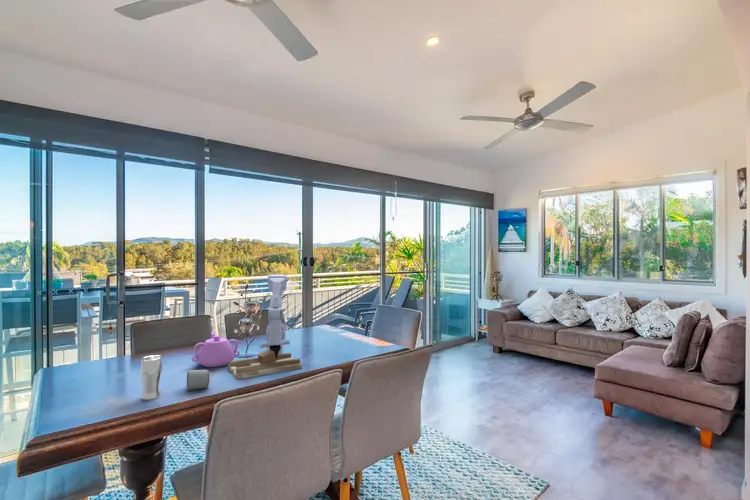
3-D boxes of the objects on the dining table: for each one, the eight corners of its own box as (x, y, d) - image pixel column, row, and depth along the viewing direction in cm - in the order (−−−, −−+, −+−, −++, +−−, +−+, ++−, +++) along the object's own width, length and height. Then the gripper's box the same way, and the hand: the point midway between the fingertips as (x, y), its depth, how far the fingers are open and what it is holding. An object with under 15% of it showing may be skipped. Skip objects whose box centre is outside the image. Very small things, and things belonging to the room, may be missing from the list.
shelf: (228, 368, 180) (228, 360, 180) (288, 359, 196) (288, 351, 196) (237, 379, 166) (237, 370, 166) (301, 368, 182) (301, 360, 182)
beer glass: (146, 393, 147) (147, 355, 147) (164, 393, 148) (165, 355, 148) (136, 400, 140) (137, 360, 140) (155, 400, 141) (156, 360, 141)
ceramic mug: (209, 389, 153) (210, 370, 153) (187, 393, 149) (187, 373, 149) (206, 382, 162) (207, 364, 162) (185, 385, 158) (185, 366, 158)
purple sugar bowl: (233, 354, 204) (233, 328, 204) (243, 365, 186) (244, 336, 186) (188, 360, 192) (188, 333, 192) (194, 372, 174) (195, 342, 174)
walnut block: (259, 363, 182) (257, 354, 181) (271, 358, 186) (268, 348, 185) (265, 366, 177) (262, 357, 176) (276, 360, 181) (274, 351, 180)
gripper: (262, 336, 176) (262, 365, 176) (292, 332, 184) (291, 360, 184) (258, 333, 182) (257, 361, 182) (287, 330, 190) (286, 357, 190)
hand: (274, 360), depth 183 cm, fingers closed, pressing on walnut block
